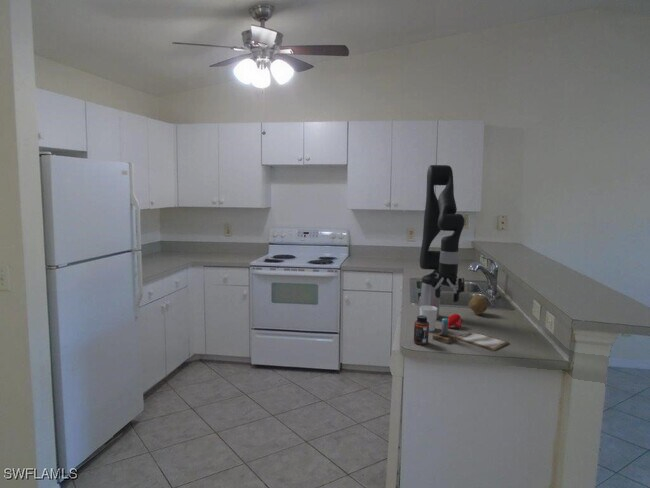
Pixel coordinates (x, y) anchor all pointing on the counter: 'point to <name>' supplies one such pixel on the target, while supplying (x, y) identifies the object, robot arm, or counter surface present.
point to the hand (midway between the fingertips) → (446, 299)
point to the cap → (454, 320)
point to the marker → (444, 327)
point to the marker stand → (444, 338)
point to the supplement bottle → (421, 330)
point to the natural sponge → (478, 304)
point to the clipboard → (482, 340)
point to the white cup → (429, 315)
